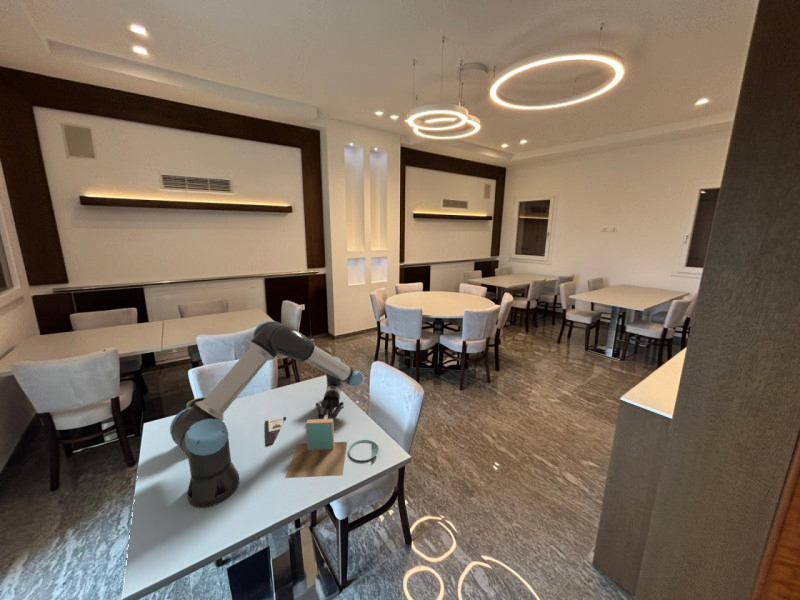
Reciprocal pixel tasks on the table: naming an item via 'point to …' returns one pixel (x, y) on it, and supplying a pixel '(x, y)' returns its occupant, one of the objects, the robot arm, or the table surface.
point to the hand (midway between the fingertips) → (324, 426)
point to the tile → (320, 434)
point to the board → (317, 461)
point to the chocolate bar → (273, 429)
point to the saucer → (373, 448)
